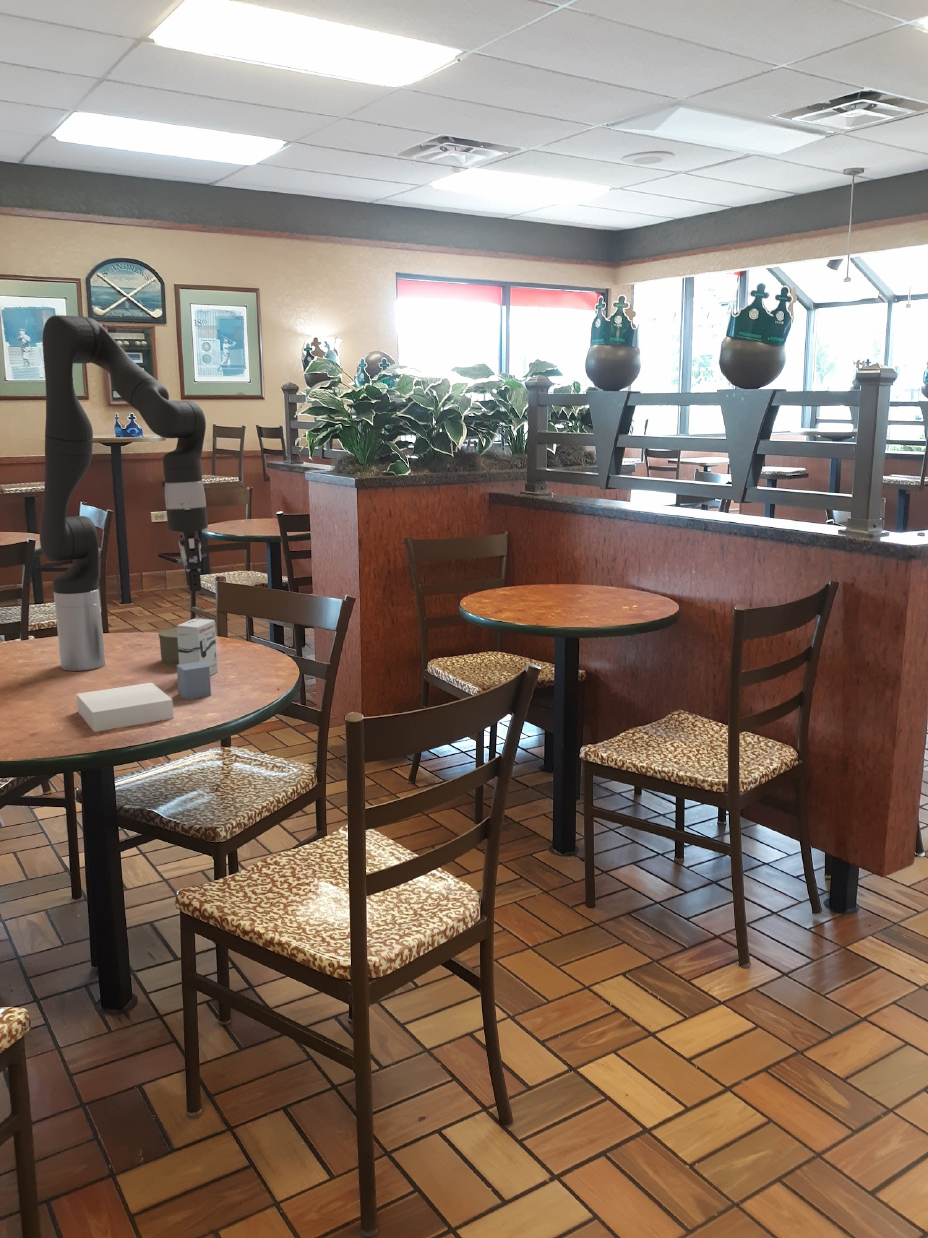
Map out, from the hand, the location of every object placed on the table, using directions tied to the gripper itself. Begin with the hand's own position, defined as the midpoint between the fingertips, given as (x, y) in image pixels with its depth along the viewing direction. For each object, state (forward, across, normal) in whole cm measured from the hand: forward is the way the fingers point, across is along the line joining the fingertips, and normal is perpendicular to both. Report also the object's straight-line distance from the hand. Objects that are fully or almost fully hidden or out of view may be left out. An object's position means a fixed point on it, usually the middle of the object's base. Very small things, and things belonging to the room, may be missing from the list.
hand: (194, 588), depth 190 cm
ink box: (+21, -13, 0) cm, 25 cm away
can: (+20, -28, -1) cm, 35 cm away
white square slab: (+22, +10, -15) cm, 28 cm away
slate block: (+21, +1, -2) cm, 21 cm away
